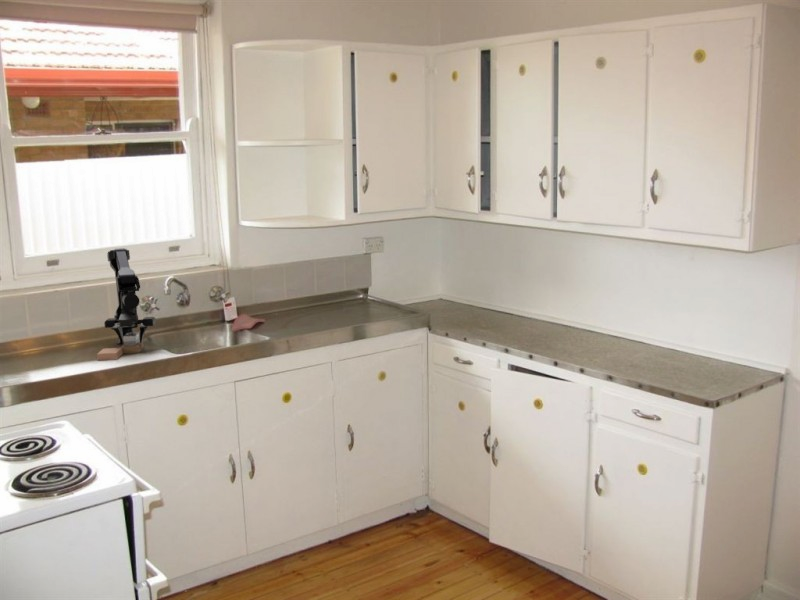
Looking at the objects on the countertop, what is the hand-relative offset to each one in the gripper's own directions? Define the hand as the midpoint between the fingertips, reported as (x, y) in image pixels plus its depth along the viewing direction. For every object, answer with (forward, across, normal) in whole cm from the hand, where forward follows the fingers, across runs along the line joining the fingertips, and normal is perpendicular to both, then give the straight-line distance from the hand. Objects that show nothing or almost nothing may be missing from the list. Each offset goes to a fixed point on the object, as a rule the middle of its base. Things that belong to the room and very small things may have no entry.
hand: (131, 343), depth 335 cm
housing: (0, 0, 0) cm, 0 cm away
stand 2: (+3, 0, 0) cm, 3 cm away
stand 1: (+3, -6, -10) cm, 12 cm away
